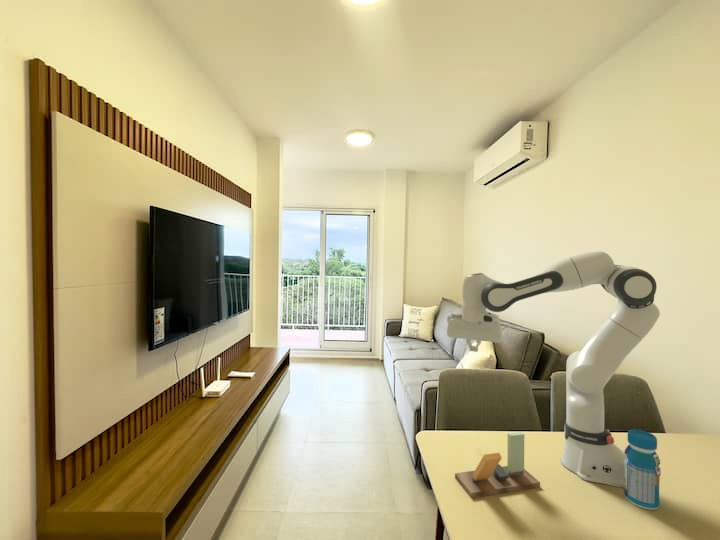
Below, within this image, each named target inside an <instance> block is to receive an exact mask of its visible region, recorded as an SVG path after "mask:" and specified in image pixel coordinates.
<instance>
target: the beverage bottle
mask: <svg viewBox="0 0 720 540" xmlns="http://www.w3.org/2000/svg"><path fill="white" fill-rule="evenodd" d="M627 442H628V445H627V446H626V447H625V450H624V453H625V456H626V457H625V458H624V465H625V488H623V489H624V492H623V494H624V497H625V499H626V500H627V501H629V502H630V503H631V504H633V505H634V506H636V507H639V508H641V509H645V510H649V511H654V510H655V511H656V510H658V509H659V508H660V505H661V502H660V478H661V474H662V471H661V468H660V464H661V459H660V457H659V455H658V453H657V452H656V450H657V449H658V438H657V437H656V435H654V434H653V433H650V432H648V431H645V430H640V429H629V430H628V431H627Z"/></svg>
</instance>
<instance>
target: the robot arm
mask: <svg viewBox="0 0 720 540" xmlns="http://www.w3.org/2000/svg"><path fill="white" fill-rule="evenodd" d="M591 285H600V286H601V287H602V288H603V289H604V290H605V291H606V293H608V294H610V295H611V296H613V297H614V298H616V299H617V305H616V307H615V308H614V310H613V311H612V312H611V313H610V315H609V316H608V317H607V318H606V319H605V320H604V322H602V323H601V324H600V326H599V327H598V328H597V329H596V330H595V331H594V332H593V334H591V336H590V338H589V339H588V341H587V342H586V344H585V345H584V347H583V348H582V349H581V350H576V351H574V352H572V353H571V354H570V355H569V356H568V357H567V359H566V364H565V367H566V369H565V370H566V372H565V374H566V375H565V376H566V377H565V381H566V384H565V385H566V386H565V388H566V389H565V390H566V391H565V392H566V398H565V399H566V400H565V401H566V404H565V405H566V406H565V407H566V408H565V409H566V415H565V417H566V420H565V422H564V430H563V431H564V433H563V434H564V439H565V440H564V446H563V452H562V453H561V458H560V463H561V464H562V465H563V466H564V467H565V468H566V469H568V470H569V471H571V472H573V473H574V474H575V475H577V476H578V477H579V478H580V479H582V480H584V481H587V482H594V483H597V484H603V485H608V486H614V487H617V488H623V489H625V465H624V458H625V457H626V456H625V453H624V452H625V450H623V449H621V448H620V447H618V446H617V444H615V439H614V437H613V436H612V433H611V432H610V429H606V428H605V399H604V388H605V386H606V385H607V383H608V382H609V381H610V379H612V377H613V375H615V373H616V371H617V370H618V369H619V367H620V366H621V364H622V363H623V361H624V360H625V359H626V358H627V356H629V354H630V353H631V352H632V351H633V350H634V349H635V347H637V346H638V344H640V343H641V341H642V340H643V339H644V338H645V337H646V336H647V335H648V334H649V332H650V331H651V330H652V329H653V328H654V326H655V325H656V322H657V321H658V320H659V318H660V314H661V313H660V309H659V308H658V306H657V305H656V304H655V303H654V301H655V295H656V291H657V282H656V279H655V277H654V276H653V275H652V274H651V273H649V272H648V271H646V270H644V269H640V268H639V267H635V266H629V265H628V266H626V265H619V264H615V262H614V260H613V258H612V257H611V256H610V255H609V254H608V253H606V252H604V251H600V250H597V251H591V252H585V253H581V254H576V255H572V256H570V257H566V258H563V259H561V260H558V261H556V262H555V263H552V264H550V265H549V266H547V267H546V268H545V269H544V270H542V271H541V272H540V273H539V272H538V273H537V274H536V275H533V276H531V277H530V276H529V277H526V278H524V279H521V280H518V281H515V282H511V283H505V282H501V281H498V280H496V279H493V278H492V277H489V276H488V275H486V274H484V273H482V272H479V273H477V272H476V273H472V274H468V275H465V277H463V280H462V286H461V298H462V304H461V314H460V313H459V314H458V313H457V314H456V313H450V314H448V316H447V318H446V319H447V330H446V335H447V336H448V338H454V339H464V340H465V341H466V344H467V345H468V349H469V352H474V353H476V352H477V353H478V351H479V347H480V345H481V344H482V342H490V343H497V344H498V343H500V342H501V341H502V340H503V331H502V326H501V324H500V322H499V319H500V316H499V315H498V314H496V313H501V312H504V311H506V310H507V309H509V308H510V307H512V305H513V304H515V303H516V302H519V301H521V300H522V301H523V300H525V299H529V298H532V297H535V296H539V295H542V294H545V293H546V294H547V293H559V292H568V291H575V290H577V289H581V288H585V287H588V286H591ZM487 310H488V311H487ZM490 311H491V312H490ZM493 312H494V313H493ZM472 340H473V341H475V342H476V345H472V343H471V342H472Z"/></svg>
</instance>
